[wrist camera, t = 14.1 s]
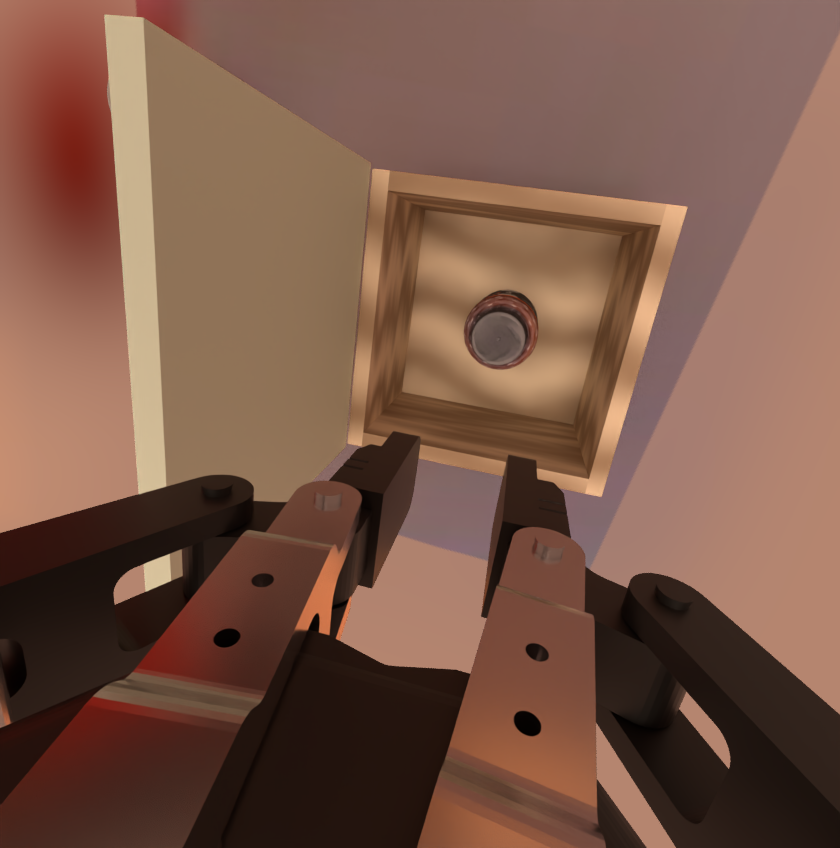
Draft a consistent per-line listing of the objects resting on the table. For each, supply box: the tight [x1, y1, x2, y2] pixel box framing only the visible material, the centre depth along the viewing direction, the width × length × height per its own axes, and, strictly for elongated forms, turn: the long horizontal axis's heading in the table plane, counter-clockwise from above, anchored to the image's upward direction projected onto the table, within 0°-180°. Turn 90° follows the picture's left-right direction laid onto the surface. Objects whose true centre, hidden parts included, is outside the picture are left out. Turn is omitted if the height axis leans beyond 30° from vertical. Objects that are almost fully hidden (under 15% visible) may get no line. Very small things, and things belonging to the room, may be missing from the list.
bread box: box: [348, 169, 687, 497], centre depth 41 cm, size 20×20×14 cm
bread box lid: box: [104, 15, 371, 591], centre depth 26 cm, size 21×21×1 cm
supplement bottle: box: [464, 290, 538, 370], centre depth 41 cm, size 6×6×11 cm
